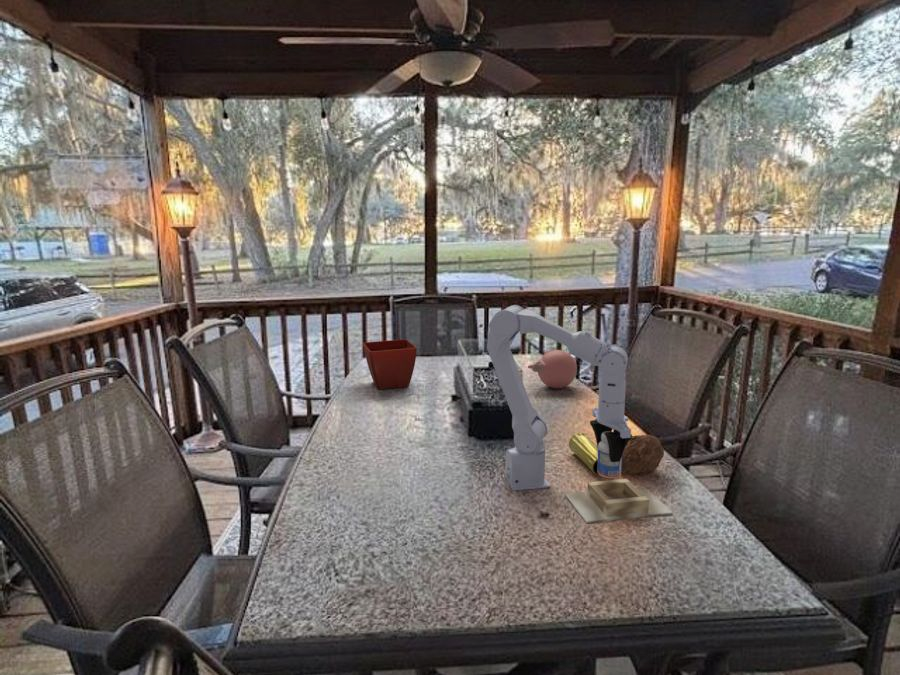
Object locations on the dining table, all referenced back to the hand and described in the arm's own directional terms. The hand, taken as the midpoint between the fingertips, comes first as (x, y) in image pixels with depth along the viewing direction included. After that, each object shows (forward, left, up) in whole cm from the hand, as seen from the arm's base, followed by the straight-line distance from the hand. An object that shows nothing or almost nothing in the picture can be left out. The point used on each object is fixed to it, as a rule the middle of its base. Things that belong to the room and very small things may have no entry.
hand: (608, 455), depth 118 cm
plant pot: (-46, +102, -10) cm, 112 cm away
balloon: (+17, +84, -10) cm, 86 cm away
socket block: (0, -4, -10) cm, 11 cm away
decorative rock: (+13, +11, -10) cm, 20 cm away
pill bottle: (0, 0, -5) cm, 5 cm away
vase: (+3, +24, -7) cm, 25 cm away
